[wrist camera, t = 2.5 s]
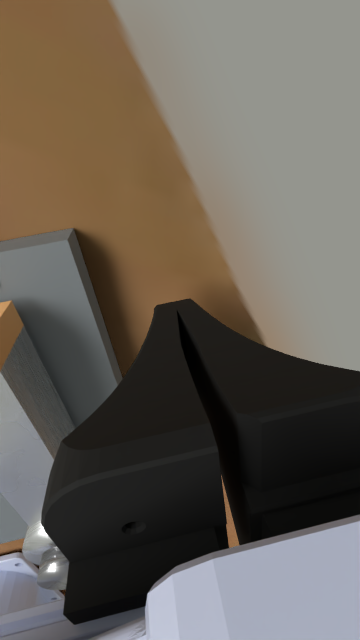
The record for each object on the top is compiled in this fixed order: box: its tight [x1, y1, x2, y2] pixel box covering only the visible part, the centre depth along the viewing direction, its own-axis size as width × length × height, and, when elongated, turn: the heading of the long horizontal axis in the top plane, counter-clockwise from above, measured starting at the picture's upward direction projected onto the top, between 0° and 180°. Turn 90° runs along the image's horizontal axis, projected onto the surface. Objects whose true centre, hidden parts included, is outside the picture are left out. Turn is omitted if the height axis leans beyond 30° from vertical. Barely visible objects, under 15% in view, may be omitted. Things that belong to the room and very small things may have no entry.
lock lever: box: [0, 300, 75, 565], centre depth 12 cm, size 12×4×3 cm, turn 8°
